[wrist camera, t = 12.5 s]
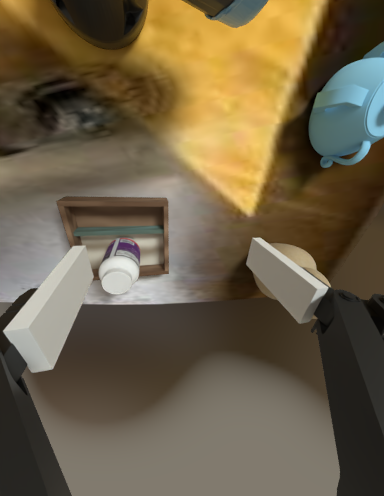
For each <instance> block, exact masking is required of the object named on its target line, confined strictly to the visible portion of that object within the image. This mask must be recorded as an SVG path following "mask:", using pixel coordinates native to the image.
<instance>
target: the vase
mask: <svg viewBox="0 0 384 496" xmlns="http://www.w3.org/2000/svg"><path fill="white" fill-rule="evenodd" d="M270 245H271V246H272V247H274V248H275V249H276V250H278V251H279V252H281V253H282V254H283V255H285V256H286V257H287V258H289V259H290V260H291V261H293V262H294V263H296V264H297V265H299V266H301V267H303V268H304V269H306V270H307V271H309V272H310V273H311V274H313V275H314V276H315V277H317V278H318V279H320V280H321V281H322V282H324V283H325V284H327V285H328V286H329V287H331V286H330V284H329V282H328V280H327V279H326V278H325V277H324V276H323V275H322V274H321V273H320V272H318V271H316V264H315V262H314V260H313V258H312V257H311V256H310V255H309V254H308V253H307V252H306V251H304V250H302V249H300V248H298V247H295V246H292V245H288V244H280V243H270ZM253 276H254V279H255V282H256V284H257V286H258V287H259V289H260V290H261V291H262V292H263V293H264V294H265V295H266V296H268V297H270V298H273V299H276V300H278V299H277V298H276V297H275V296H274V295H273V294H272V293H271V292H270V290H269V289H268V288H267V287H266V286H265V285H264V284H263V283H262V282H261V281H260V279H259V278H258V277H257V276H256V275H255V274H254V273H253ZM311 319H317V317H316V316H315V315H313V316H312V318H311Z"/></svg>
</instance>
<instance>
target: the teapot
mask: <svg viewBox="0 0 384 496" xmlns="http://www.w3.org/2000/svg"><path fill="white" fill-rule="evenodd" d="M383 137H384V41H383V42H382V43H381V44H379V45H378V46H377V47H375V48H374V49H373V50H371V51H370V52H368V53H367V54H366V55H365V56H364V58H363V59H362V60H358V61H356V62H353V63H351V64H348V65H347V66H345V67H343V68H342V69H341V70H339V71H338V72H337V73H336V74H335V75H334V76H333V77H332V78H331V79H330V80H329V81H328V82H327V84H326V85H325V86H324V88H323V89H322V91H321V92H319V93H317V96H316V99H315V103H314V106H313V109H312V112H311V115H310V119H309V138H310V141H311V144H312V146H313V148H314V149H315V151H316V152H317V153H319V154H320V155H322V156H324V157H322V159H321V161H320V165H321V167H323V168H328V167H330V166H331V165H332V163H333V161H335V162H337V163H339V164H342V165H352V164H355V163H357V162H359V161H360V160H361V159H362V158H364V156H365V155H366V154H367V153H368V151H369V148H370V145H371V144H373V143H374V142H376V141H378V140H379V139H381V138H383ZM357 151H358V153H357V154H356V155H355V156H354V157H353V158H351V159H348V160H346V159H342V158H340V157H339V156H344V155H348V154H352V153H354V152H357ZM328 160H329V161H328ZM327 161H328V162H327Z"/></svg>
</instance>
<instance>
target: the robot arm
mask: <svg viewBox="0 0 384 496" xmlns="http://www.w3.org/2000/svg"><path fill="white" fill-rule="evenodd" d="M182 1H184V2H186V3H188V4H189V5H191V6H193V7H195V8H196V9H198V10H200V11H202V12H203V13H205V16H206V17H207V18H208V19H210V20H218V21H220V22H222V23H224V24H226V25H228V26H230V27H233V28H238V27H240V26H243V25H246V24H247V23H249V22H250V21H251V20H252V19H253V18H254V17H255V16H256V15H257V14H258V13H259V12H260V11H261V9H262V8H263V7H264V6H265V4H266V3H267V2H268V0H182ZM51 2H52V3H53V5H54V7H55V8H56V10H57V11H58V13H59V14H60V16H61V17H62V18H63V19H64V21H65V22H66V23H67V24H68V25H69V27H70V28H71V29H72V30H73V31H74V32H76V33H77V34H78V35H79V36H80V37H81V38H83V39H84V40H86V41H87V42H89V43H91V44H93V45H95V46H97V47H100V48H104V49H119V48H123V47H125V46H127V45H129V44H130V43H131V42H132V41H134V39H135V38H136V37H137V36H138V34H139V33H140V31H141V29H142V27H143V25H144V22H145V19H146V15H147V9H148V0H51ZM246 265H247V266H248V267H249V268H250V269H251V271H252V272H253V273H254V274H255V275H256V276H257V277H258V278H259V279H260V281H261V282H262V283H263V284H264V285H265V286H266V287H267V288H268V289H269V290H270V292H271V293H272V294H273V295H274V296H275V297H276V298H277V299H278V300H279V302H280V303H281V304H282V305H283V306H284V307H285V308H286V309H287V310H288V312H289V313H290V314H291V315H292V316H293V317H294V318H295V319H296V320H297V322H298V323H299V324H300V323H305V322H310V320H311V318H312V316H313V315H315V316H316V317H317V318H318V319H317V321H316V322H315V324H314V326H313V328H312V329H311V332H312V333H313V332H314V330H315V329H317V333H316V334H317V335H318V340H319V346H320V352H321V358H322V364H323V369H324V376H325V382H326V388H327V394H328V400H329V406H330V412H331V418H332V424H333V429H334V436H335V442H336V448H337V454H338V460H339V466H340V479H339V483H338V487H337V496H384V295H381V294H374V295H372V296H371V298H370V299H369V300H362V299H360V298H359V297H357V296H356V295H354V294H352V293H350V292H347V291H344V290H333V289H332V288H331V287H329V286H328V285H327V284H325V283H324V282H322V281H321V280H320V279H318V278H317V277H315V276H314V275H313V274H311V273H310V272H309V271H307V270H306V269H304V268H303V267H301V266H299V265H297V264H296V263H294V262H293V261H291V260H290V259H289V258H287V257H286V256H285V255H283V254H282V253H281V252H279V251H278V250H276V249H275V248H274V247H272V246H271V245H270V244H268V243H267V242H265V241H264V240H263V239H261V238H252V242H251V246H250V250H249V254H248V258H247V262H246ZM93 278H94V276H93V272H92V268H91V265H90V261H89V257H88V253H87V249H86V246H73V247H72V248H71V249H70V250H69V252H68V253H67V254H66V255H65V257H64V258H63V259H62V260H61V261H60V263H59V264H58V265H57V266H56V267H55V269H54V270H53V271H52V272H51V274H50V275H49V276H48V277H47V278H46V280H45V281H44V282H43V283H42V284H41V286H40V287H39V288H33V289H30V290H28V291H27V292H25V293H24V294H22V295H21V296H19V297H18V299H17V300H16V301H15V302H14V303H13V304H12V306H10V307H9V308H8V310H7V311H6V313H4V314H3V315H2V316H1V317H0V496H72V495H71V493H70V490H69V488H68V486H67V483H66V481H65V478H64V476H63V473H62V471H61V468H60V466H59V463H58V461H57V459H56V456H55V454H54V451H53V449H52V447H51V444H50V442H49V439H48V437H47V434H46V432H45V430H44V427H43V425H42V422H41V420H40V417H39V415H38V413H37V410H36V408H35V405H34V403H33V401H32V398H31V396H30V393H29V391H28V388H27V386H26V384H25V381H24V379H23V378H22V377H21V375H22V373H23V372H24V370H25V368H26V366H28V368H29V369H30V371H31V372H32V373H35V372H40V371H46V370H51V369H53V368H54V365H55V363H56V361H57V359H58V356H59V354H60V352H61V350H62V347H63V345H64V343H65V340H66V338H67V336H68V334H69V332H70V329H71V327H72V325H73V323H74V320H75V318H76V316H77V313H78V311H79V309H80V307H81V305H82V302H83V300H84V298H85V296H86V293H87V291H88V289H89V287H90V284H91V282H92V280H93Z"/></svg>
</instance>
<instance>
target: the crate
mask: <svg viewBox="0 0 384 496" xmlns="http://www.w3.org/2000/svg"><path fill="white" fill-rule="evenodd" d="M56 202H57V205H58V208H59V211H60V215H61V218H62V221H63V224H64V228H65V231H66V234H67V237H68V240H69V244H70V247H71V248H72V247H73V246H86V249H87V253H88V257H89V261H90V265H91V268H92V272H93V276H94V278H93V280H100V278H99V273H98V272H99V267H100V265H101V263H102V260H103V258H104V256H105V253H106V251H107V248H108V246H109V244H110V243H111V242H112V241H113V240H114V239H116V238H119V237H128V238H131V239H133V240H135V241H136V242H137V243H138V245H139V247H140V251H141V253H140V268H139V276H148V275H160V274H169V251H168V201H167V198H135V197H64V198H62V199H60V200H58V201H56Z"/></svg>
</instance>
